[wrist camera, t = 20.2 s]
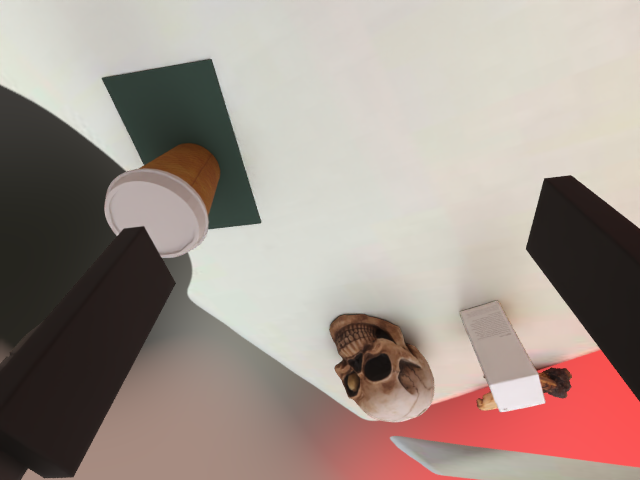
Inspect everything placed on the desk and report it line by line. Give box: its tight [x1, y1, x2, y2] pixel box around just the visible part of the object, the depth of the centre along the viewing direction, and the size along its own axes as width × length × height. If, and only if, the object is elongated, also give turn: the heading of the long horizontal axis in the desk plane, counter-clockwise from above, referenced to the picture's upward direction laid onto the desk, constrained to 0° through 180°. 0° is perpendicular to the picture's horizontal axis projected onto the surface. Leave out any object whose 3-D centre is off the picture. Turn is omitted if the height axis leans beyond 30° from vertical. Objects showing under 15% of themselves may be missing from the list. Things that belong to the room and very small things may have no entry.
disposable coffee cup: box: [104, 143, 220, 258], centre depth 36 cm, size 10×10×12 cm
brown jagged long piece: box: [477, 368, 572, 410], centre depth 64 cm, size 9×5×18 cm
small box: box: [459, 301, 546, 412], centre depth 51 cm, size 8×6×13 cm
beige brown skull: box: [329, 314, 434, 422], centre depth 57 cm, size 16×17×13 cm
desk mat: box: [102, 59, 261, 229], centre depth 41 cm, size 20×12×1 cm, turn 9°
